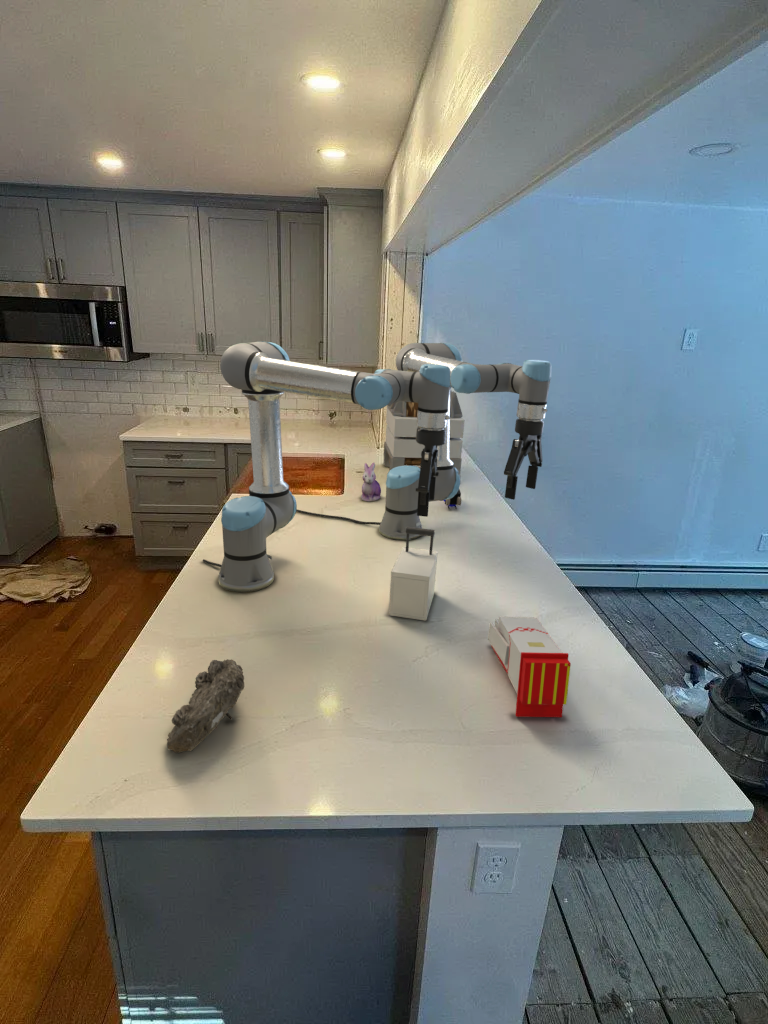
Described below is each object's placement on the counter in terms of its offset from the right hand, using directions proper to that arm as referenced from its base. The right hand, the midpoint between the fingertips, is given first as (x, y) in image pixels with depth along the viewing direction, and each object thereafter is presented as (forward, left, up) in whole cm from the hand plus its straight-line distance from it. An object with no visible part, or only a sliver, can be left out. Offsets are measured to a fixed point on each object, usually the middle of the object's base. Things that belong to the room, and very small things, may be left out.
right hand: (520, 493), depth 162 cm
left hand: (-9, -29, -1) cm, 30 cm away
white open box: (-6, -35, -27) cm, 44 cm away
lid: (-6, -35, -15) cm, 38 cm away
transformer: (-98, +57, -27) cm, 116 cm away
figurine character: (-56, +34, -27) cm, 71 cm away
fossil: (+4, -96, -27) cm, 100 cm away
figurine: (-81, +12, -27) cm, 86 cm away
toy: (+32, -38, -27) cm, 56 cm away
